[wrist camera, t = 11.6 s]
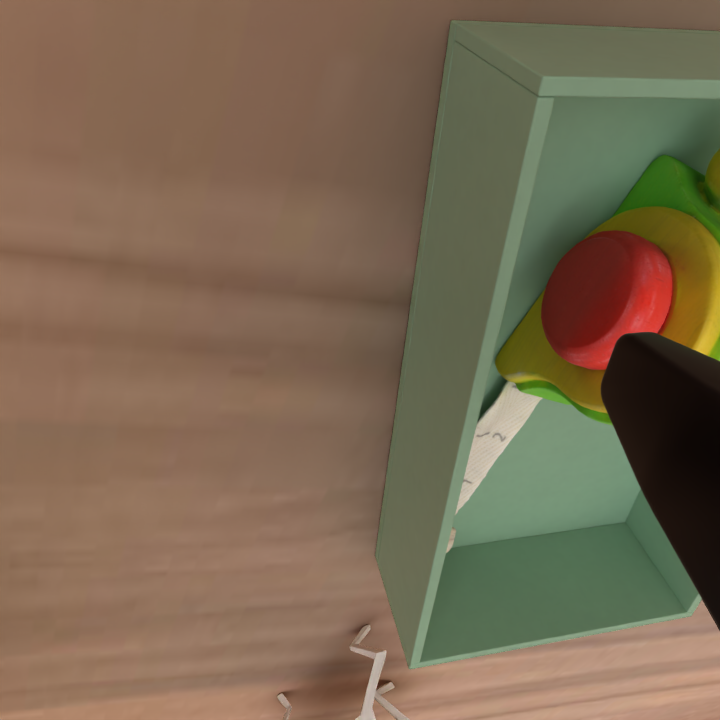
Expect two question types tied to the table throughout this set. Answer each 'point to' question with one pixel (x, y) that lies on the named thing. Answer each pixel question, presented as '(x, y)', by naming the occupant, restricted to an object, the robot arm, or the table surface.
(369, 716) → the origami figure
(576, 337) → the toy measuring tape
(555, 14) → the table surface
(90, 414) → the table surface
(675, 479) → the robot arm
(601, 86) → the tray
